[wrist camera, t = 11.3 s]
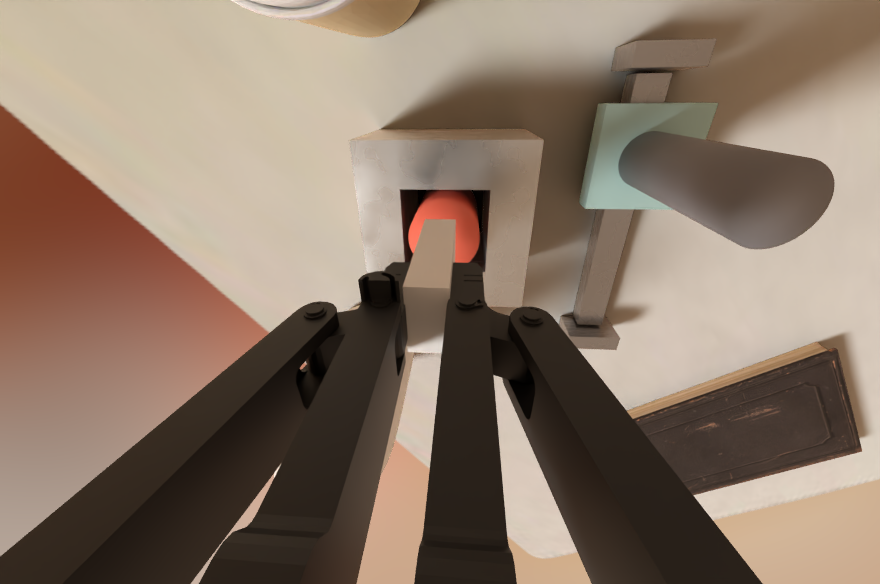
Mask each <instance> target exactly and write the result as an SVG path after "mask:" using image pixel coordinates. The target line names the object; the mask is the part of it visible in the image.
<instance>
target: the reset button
mask: <svg viewBox="0 0 880 584" xmlns="http://www.w3.org/2000/svg"><path fill="white" fill-rule="evenodd" d="M425 219H455V220H456V238H455V262H458V263H469V262H470V261H471V260H472V258H473V257H474V256H475V254H476V252H477V250H478V247H479V241H480V235H479V223H478V211H477V202H476V199H475V196H474V194H473V193H472V191H471V190H427V191H426V193H425V194H424V197H423V199H422V201H421V203H420V205H419V208H418V210H417V212H416V214H415V217H414V219H413V221H412V223H411V225H410V229H409V234H408V239H409V245H410V248H411V251H412V253H413V254H414V251H415V248H416V245H417V242H418V239H419V236H420V233H421V230H422V227H423V224H424V221H425Z"/></svg>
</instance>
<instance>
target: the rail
mask: <svg viewBox="0 0 880 584" xmlns="http://www.w3.org/2000/svg"><path fill="white" fill-rule="evenodd" d="M716 40H717V39H684V40H639V41H634V42H632V43H629V44H626V45H623V46H620V47H617V48H616V49H615V54H614V59H613V64H612V69H611V71H667V70H684V69H692V68H700V67H707V66H708V65H709V61H710V58H711V55H712V52H713V49H714V46H715V43H716ZM672 74H673V73H637V74H630V75H627V76H626V80H625V85H624V89H623V94H622V98H621V102H620V103H664V102H665V98H666V95H667V91H668V88H669V84H670V81H671V77H672ZM633 212H634V209H596V213H595V218H594V222H593V227H592V231H591V236H590V240H589V245H588V249H587V253H586V258H585V262H584V267H583V271H582V276H581V280H580V284H579V289H578V293H577V298H576V302H575V307H574V311H573V316H561V318H560V323H559V326H560V327H561V328H562V330H563V331H564V332H565V333H566V335H567V336H568V337H569V338H570V340H571V341H572V342H573V344H574V345H575V346H576V347H577V348H583V349H609V350H616V349H617V346H618V343H619V340H620V338H619V336H618V334H617V333H616V331H615V330H614V328H613V326H612V325H611V323H610V322H609V320H608V319H607V317H604V315H605V311H606V307H607V304H608V300H609V297H610V293H611V290H612V286H613V283H614V279H615V276H616V272H617V269H618V265H619V261H620V258H621V254H622V251H623V247H624V244H625V240H626V237H627V233H628V230H629V226H630V222H631V219H632V215H633Z"/></svg>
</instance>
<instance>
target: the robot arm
mask: <svg viewBox="0 0 880 584" xmlns="http://www.w3.org/2000/svg"><path fill="white" fill-rule="evenodd" d="M455 238H456V220H455V219H425V221H424V224H423V227H422V230H421V233H420V236H419V239H418V242H417V245H416V248H415V251H414V254H413V257H412V260H411V262H393V263H391V264H390V265H388V266H387V267H386V268H385V270H384V271H375V272H371V273H367V274H365V275H363V276H362V277H361V278H360V279H359V280H358V281H359V288H360V294H361V301H362V302H361V304H360V306H359V308H358V309H355V310H350V311H345V312H338V313H337V309H336V307H335V306H334V305H333V304H331V303H328V302H313V303H310V304H307V305H305V306H303V307H301V308H300V309H298V310H297V311H296V312H294V313H293V314H292V315H291V316H290V317H288V318H287V319H286V320H285V321H284V322H282V323H281V324H280V325H279V326H278V327H276V328H275V329H274V330H273V331H271V332H270V333H269V334H268V335H267V336H265V337H264V338H263V339H262V340H261V341H259V342H258V343H257V344H256V345H255V346H253V347H252V348H251V349H250V350H249V351H247V352H246V353H245V354H244V355H243V356H241V357H240V358H239V359H238V360H237V361H235V362H234V363H233V364H232V365H231V366H229V367H228V368H227V369H226V370H225V371H223V372H222V373H221V374H220V375H218V376H217V377H216V378H215V379H214V380H212V381H211V382H210V383H209V384H208V385H206V386H205V387H204V388H203V389H202V390H200V391H199V392H198V393H197V394H196V395H194V396H193V397H192V398H191V399H190V400H188V401H187V402H186V403H185V404H184V405H182V406H181V407H180V408H179V409H178V410H176V411H175V412H174V413H173V414H171V415H170V416H169V417H168V418H167V419H166V420H165V421H163V422H162V423H161V424H159V425H158V426H157V427H156V428H155V429H153V430H152V431H151V432H150V433H149V434H147V435H146V436H145V437H144V438H143V439H141V440H140V441H139V442H138V443H137V444H135V445H134V446H133V447H132V448H131V449H129V450H128V451H127V452H126V453H124V454H123V455H122V456H121V457H120V458H118V459H117V460H116V461H115V462H114V463H112V464H111V465H110V466H109V467H108V468H106V469H105V470H104V471H103V472H102V473H100V474H99V475H98V476H97V477H96V478H94V479H93V480H92V481H91V482H90V483H88V484H87V485H86V486H85V487H84V488H82V489H81V490H80V491H79V492H77V493H76V494H75V495H74V496H73V497H72V498H70V499H69V500H68V501H67V502H65V503H64V504H63V505H62V506H61V507H59V508H58V509H57V510H56V511H55V512H53V513H52V514H51V515H50V516H49V517H48V518H46V519H45V520H44V521H43V522H42V523H40V524H39V525H38V526H37V527H36V528H34V529H33V530H32V531H31V532H29V533H28V534H27V535H26V536H24V537H23V538H22V539H21V540H20V541H18V542H17V543H16V544H15V545H14V546H13V547H11V548H10V549H9V550H8V551H7V552H5V553H4V554H3V555H2V556H0V584H191V582H192V581H193V580H194V578H195V577H196V575H197V574H198V573H199V572H200V570H201V569H202V568H203V566H204V565H205V564H206V562H207V561H208V560H209V558H210V557H211V556H212V554H213V553H214V552H215V550H216V549H217V548H218V546H219V545H220V544H221V542H222V541H223V540H224V539H225V537H226V536H227V535H228V533H229V532H230V531H231V529H232V528H233V527H234V525H235V524H236V523H237V521H238V520H239V519H240V517H241V516H242V515H243V513H244V512H245V511H246V509H247V508H248V507H249V505H250V504H251V503H252V501H253V500H254V499H255V498H256V496H257V495H258V493H259V492H260V491H261V490H262V488H263V487H264V486H265V484H266V483H267V482H268V480H269V479H270V478H271V476H272V475H273V474H274V472H275V471H276V470H277V468H278V467H279V466H280V467H279V469H278V471H277V473H276V475H275V478H274V480H273V482H272V484H271V486H270V488H269V490H268V492H267V494H266V496H265V498H264V500H263V502H262V504H261V506H260V508H259V510H258V512H257V514H256V516H255V517H254V519H253V521H252V522H251V523H250V524H249V525H248V526H247V527H245V528H243V529H240V530H237V531H235V532H233V533H232V534H231V535H230V536H229V537H228V538H227V539H226V540H225V541H224V542H223V543H222V545H221V546H220V548H219V549H218V551H217V552H216V554H215V556H214V557H213V559H212V560H211V562H210V564H209V566H208V568H207V570H206V571H205V573H204V575H203V577H202V579H201V581H200V583H199V584H356V583H357V578H358V574H359V569H360V564H361V560H362V555H363V551H364V547H365V542H366V538H367V533H368V529H369V524H370V520H371V516H372V511H373V507H374V502H375V497H376V493H377V488H378V484H379V480H380V475H381V471H382V466H383V462H384V457H385V453H386V448H387V444H388V439H389V435H390V430H391V426H392V421H393V417H394V413H395V408H396V404H397V399H398V395H399V390H400V386H401V381H402V377H403V372H404V368H405V363H406V358H405V348H406V344H407V348H408V352H419V353H442V356H441V366H440V375H439V385H438V395H437V405H436V414H435V424H434V434H433V444H432V453H431V463H430V473H429V483H428V492H427V502H426V512H425V521H424V531H423V537H422V541H421V544H420V547H419V553H418V558H417V566H416V574H415V583H414V584H517V582H516V574H515V566H514V561H513V555H512V552H511V550H510V548H509V546H508V540H507V531H506V519H505V507H504V495H503V484H502V472H501V460H500V448H499V437H498V425H497V413H496V401H495V390H494V378H493V375H496V376H499V377H502V378H503V383H504V386H505V388H506V390H507V393H508V395H509V397H510V399H511V402H512V404H513V406H514V408H515V411H516V413H517V415H518V417H519V420H520V422H521V424H522V427H523V429H524V431H525V433H526V436H527V438H528V440H529V442H530V445H531V447H532V449H533V451H534V454H535V456H536V458H537V461H538V463H539V465H540V467H541V470H542V472H543V474H544V476H545V479H546V481H547V483H548V485H549V488H550V490H551V492H552V495H553V497H554V499H555V501H556V504H557V506H558V508H559V510H560V513H561V515H562V517H563V519H564V522H565V524H566V526H567V529H568V531H569V533H570V535H571V538H572V540H573V542H574V544H575V547H576V549H577V551H578V553H579V556H580V558H581V560H582V562H583V565H584V567H585V569H586V572H587V574H588V576H589V578H590V581H591V583H592V584H762V583H761V581H760V580H759V579H758V578H757V576H756V575H755V574H754V572H753V571H752V570H751V569H750V567H749V566H748V565H747V563H746V562H745V561H744V560H743V558H742V557H741V556H740V554H739V553H738V552H737V551H736V549H735V548H734V547H733V546H732V544H731V543H730V542H729V540H728V539H727V538H726V537H725V536H724V534H723V533H722V532H721V530H720V529H719V528H718V527H717V525H716V524H715V523H714V521H713V520H712V519H711V518H710V516H709V515H708V514H707V513H706V511H705V510H704V509H703V507H702V506H701V505H700V504H699V502H698V501H697V500H696V499H695V497H694V496H693V495H692V493H691V492H690V491H689V490H688V488H687V487H686V486H685V485H684V483H683V482H682V481H681V480H680V478H679V477H678V476H677V474H676V473H675V472H674V471H673V469H672V468H671V467H670V466H669V464H668V463H667V462H666V460H665V459H664V458H663V457H662V455H661V454H660V453H659V452H658V450H657V449H656V448H655V446H654V445H653V444H652V443H651V441H650V440H649V439H648V438H647V436H646V435H645V434H644V432H643V431H642V430H641V429H640V427H639V426H638V425H637V424H636V422H635V421H634V420H633V419H632V417H631V416H630V415H629V413H628V412H627V411H626V410H625V408H624V407H623V406H622V405H621V403H620V402H619V401H618V399H617V398H616V397H615V396H614V394H613V393H612V392H611V391H610V389H609V388H608V387H607V385H606V384H605V383H604V382H603V380H602V379H601V378H600V377H599V375H598V374H597V373H596V372H595V370H594V369H593V368H592V366H591V365H590V364H589V363H588V361H587V360H586V359H585V358H584V356H583V355H582V354H581V352H580V351H579V350H578V349H577V347H576V346H575V345H574V344H573V342H572V341H571V340H570V338H569V337H568V336H567V335H566V333H565V332H564V331H563V330H562V328H561V327H560V326H559V325H558V323H557V322H556V321H555V319H554V318H553V317H552V316H551V315H550V314H549V313H548V312H546V311H544V310H542V309H539V308H536V307H520V308H516V309H515V310H513V311H512V312H511V314H510V316H508V315H503V314H500V313H497V312H495V311H493V310H491V309H490V308H489V307H488V306H487V303H486V301H485V296H484V283H483V271H482V268H481V267H480V266H479V265H478V264H477V263H458V262H455ZM305 361H306V363H307V365H306V366H305V367H304V368H303V369H302V370H300V367H301V365H302V364H303V363H304V362H305ZM280 464H281V465H280Z"/></svg>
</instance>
